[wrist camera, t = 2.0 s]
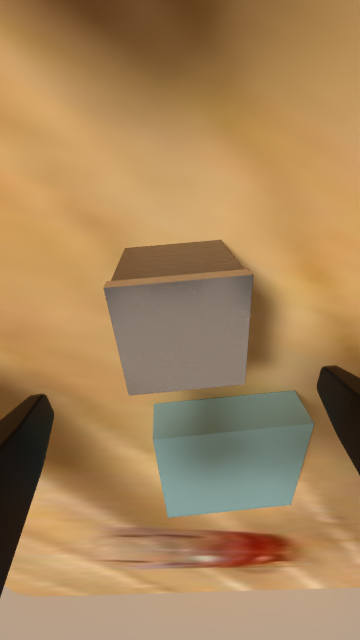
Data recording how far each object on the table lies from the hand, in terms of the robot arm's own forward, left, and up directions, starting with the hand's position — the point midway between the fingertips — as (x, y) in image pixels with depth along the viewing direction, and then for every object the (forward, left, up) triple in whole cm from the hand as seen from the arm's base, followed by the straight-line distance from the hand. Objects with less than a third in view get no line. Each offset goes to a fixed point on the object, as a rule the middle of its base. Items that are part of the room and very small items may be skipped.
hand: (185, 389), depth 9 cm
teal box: (+3, -15, -9) cm, 18 cm away
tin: (0, 0, -8) cm, 8 cm away
